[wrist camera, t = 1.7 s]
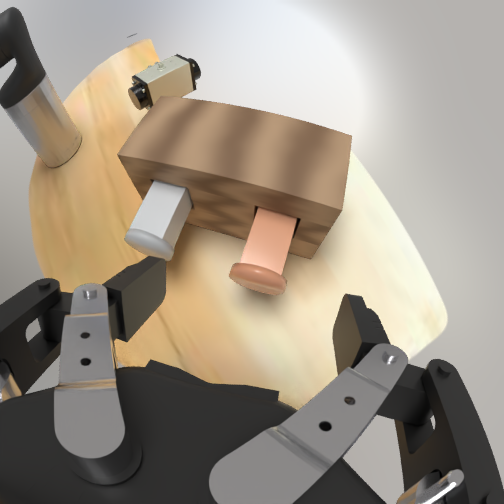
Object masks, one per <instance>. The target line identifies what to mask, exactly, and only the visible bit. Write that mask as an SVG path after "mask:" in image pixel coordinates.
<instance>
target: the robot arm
mask: <svg viewBox="0 0 504 504" xmlns="http://www.w3.org/2000/svg"><path fill="white" fill-rule="evenodd" d="M13 58H15V59H16V63H17V64H16V67H15V69H14V71H13V72H12V74H11V75H10V77H9V78H8V79H7V81H6V82H5V83H4V85H3V86H2V88H1V90H0V104H1V106H2V107H3V108H4V110H5V111H6V113H7V114H8V116H9V117H10V118H11V120H12V121H13V122H14V124H15V125H16V127H17V128H18V129H19V131H20V132H21V133H22V135H23V136H24V137H25V139H26V140H27V141H28V142H29V144H30V145H31V147H32V148H33V149H34V150H35V152H36V153H37V154H38V156H39V157H40V158H41V159H42V161H43V162H44V163H45V164H46V165H47V166H48V167H51V168H52V167H57V166H60V165H62V164H63V163H65V162H66V161H68V160H69V159H70V158H71V157H72V156H73V155H74V154H75V152H76V151H77V149H78V148H79V146H80V144H81V135H80V133H79V132H78V130H77V128H76V127H75V125H74V123H73V121H72V120H71V118H70V116H69V114H68V113H67V111H66V109H65V107H64V106H63V104H62V102H61V100H60V99H59V97H58V95H57V93H56V91H55V89H54V87H53V85H52V84H51V82H50V80H49V78H48V76H47V74H46V72H45V70H44V68H43V66H42V64H41V62H40V60H39V58H38V56H37V53H36V51H35V49H34V46H33V44H32V41H31V38H30V36H29V32H28V29H27V26H26V23H25V21H24V18H23V16H22V14H21V12H20V11H19V10H18V9H17V8H15V7H11V8H9V9H7V10H6V11H4V12H2V13H1V14H0V68H1V67H3V66H4V65H5V64H6V63H8V62H9V61H10V60H11V59H13ZM165 294H166V261H165V259H163V258H158V257H153V256H148V257H146V258H145V259H143V260H142V261H141V262H139V263H137V264H134V265H131V266H128V267H126V268H125V269H124V270H122V272H119V273H118V274H116V276H114V277H112V278H111V279H109V280H108V281H107V282H105V283H104V284H102V285H100V284H95V283H90V284H84V285H81V286H79V287H77V288H76V289H75V290H74V292H73V293H67V292H61V290H60V284H59V282H58V281H57V280H55V279H52V278H45V279H40V280H37V281H35V282H34V283H32V284H31V285H29V286H28V287H26V288H25V289H23V290H22V291H20V292H19V293H17V294H16V295H14V296H13V297H12V298H10V299H8V300H7V301H5V302H4V303H3V304H1V305H0V504H386V503H385V501H383V500H382V499H381V498H380V497H379V496H378V495H377V494H376V493H375V492H374V491H373V490H372V489H371V488H370V486H369V485H367V483H366V482H365V481H364V480H363V479H362V478H361V477H360V476H359V475H358V474H357V473H356V472H355V471H354V470H353V469H352V468H351V467H350V466H349V464H348V463H347V462H346V461H345V460H344V459H343V457H344V455H345V454H346V453H347V452H348V451H349V449H350V448H351V447H352V446H353V444H354V443H355V442H356V441H357V440H358V438H359V437H360V436H361V435H362V433H363V432H364V431H365V429H366V428H367V427H368V425H369V424H370V423H371V421H372V420H373V419H374V417H375V416H376V414H377V415H380V416H384V417H387V418H391V419H394V420H395V426H396V431H397V437H398V444H399V449H400V457H401V465H402V472H403V481H404V493H403V494H402V495H401V496H400V497H399V498H398V500H397V503H396V504H504V489H503V485H502V482H501V478H500V475H499V471H498V468H497V465H496V462H495V458H494V455H493V452H492V449H491V447H490V444H489V442H488V438H487V436H486V433H485V431H484V428H483V426H482V423H481V421H480V419H479V416H478V414H477V411H476V409H475V407H474V404H473V402H472V400H471V398H470V396H469V394H468V391H467V389H466V387H465V385H464V383H463V381H462V379H461V377H460V375H459V373H458V371H457V370H456V368H455V367H454V366H453V365H451V364H450V363H448V362H447V361H444V360H441V359H433V360H431V361H430V362H429V364H428V365H427V367H426V369H424V368H420V367H417V366H414V365H410V364H408V357H407V355H406V354H405V352H404V351H402V350H401V349H400V348H398V347H396V346H394V345H391V344H390V342H389V339H388V337H387V335H386V332H385V330H383V329H384V328H383V326H382V324H381V321H380V319H379V317H378V315H377V314H376V313H375V312H374V311H373V310H372V309H369V308H367V307H366V305H365V302H364V300H363V298H362V296H357V295H351V294H345V295H344V297H343V299H342V302H341V305H340V309H339V312H338V315H337V318H336V321H335V324H334V328H333V344H334V351H335V357H336V365H337V372H338V376H337V377H336V378H335V379H334V380H333V381H332V382H331V383H330V384H329V385H328V386H326V387H325V388H324V389H323V390H322V391H321V392H320V393H318V394H317V395H316V396H315V397H314V398H313V399H312V400H310V401H309V402H308V403H307V404H306V405H304V406H303V407H302V408H301V409H299V410H296V409H294V408H293V407H291V406H289V405H287V404H285V403H283V402H280V401H278V396H279V391H275V390H269V389H264V388H258V387H253V386H248V385H229V384H212V383H208V382H205V381H203V380H201V379H199V378H197V377H195V376H193V375H191V374H189V373H187V372H185V371H183V370H181V369H179V368H176V367H173V366H169V365H166V364H163V363H160V362H157V361H154V360H150V361H149V362H148V364H147V365H146V367H122V368H118V363H117V357H116V351H115V344H114V340H115V339H116V338H117V339H119V340H122V341H125V342H128V341H129V339H130V338H131V337H132V336H133V335H134V334H135V333H136V332H137V330H138V329H139V328H140V327H141V326H142V325H143V324H144V322H145V321H146V320H147V319H148V318H149V317H150V316H151V315H152V313H153V312H154V311H155V310H156V309H157V308H158V307H159V306H160V305H161V303H162V302H163V300H164V298H165ZM36 318H38V321H39V325H40V328H41V331H40V332H39V333H38V334H37V335H35V336H34V337H33V338H32V339H31V340H30V341H29V342H27V339H26V329H27V327H28V325H29V324H30V323H32V322H33V321H34V320H35V319H36ZM59 355H60V368H59V384H58V385H57V386H56V387H52V388H48V389H45V390H41V391H37V392H33V393H29V394H25V393H26V392H27V391H28V389H29V388H30V387H31V386H32V385H33V384H34V383H35V381H37V379H38V378H39V377H40V376H41V375H42V374H43V373H44V372H45V370H46V369H47V368H48V367H49V366H50V365H51V364H52V363H53V362H54V361H55V360H56V359H57V358H58V356H59ZM24 394H25V395H24ZM433 415H434V418H435V429H433V426H432V423H431V419H430V418H431V417H432V416H433Z"/></svg>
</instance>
